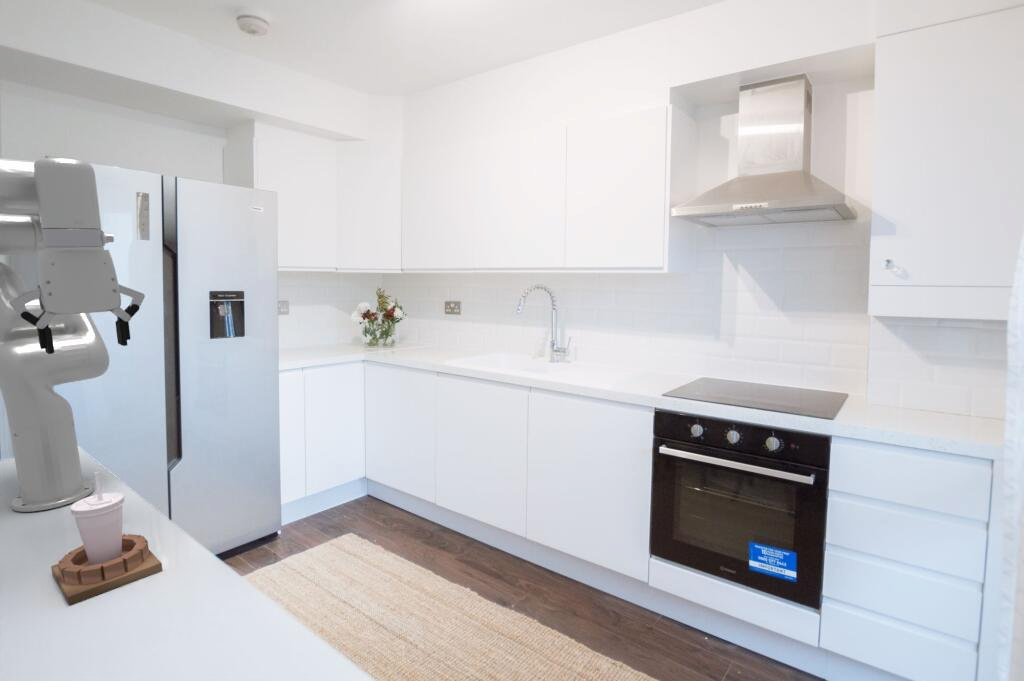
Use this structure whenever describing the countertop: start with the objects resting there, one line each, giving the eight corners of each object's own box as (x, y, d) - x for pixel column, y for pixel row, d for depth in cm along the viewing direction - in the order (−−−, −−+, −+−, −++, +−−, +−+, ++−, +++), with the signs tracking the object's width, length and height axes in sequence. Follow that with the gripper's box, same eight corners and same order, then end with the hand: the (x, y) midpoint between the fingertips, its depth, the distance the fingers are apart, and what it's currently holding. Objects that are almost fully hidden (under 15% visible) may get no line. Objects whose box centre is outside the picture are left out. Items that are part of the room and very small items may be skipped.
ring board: (52, 573, 84) (49, 553, 83) (138, 544, 92) (136, 525, 91) (69, 605, 76) (65, 583, 75) (162, 570, 84) (159, 550, 83)
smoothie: (105, 577, 80) (91, 481, 78) (67, 573, 81) (53, 479, 79) (143, 554, 86) (131, 464, 84) (107, 551, 88) (94, 463, 86)
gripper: (131, 241, 98) (142, 339, 101) (-3, 241, 86) (14, 353, 89) (144, 241, 93) (155, 344, 96) (3, 241, 81) (21, 359, 84)
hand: (87, 348), depth 92 cm, fingers open, 9 cm apart
